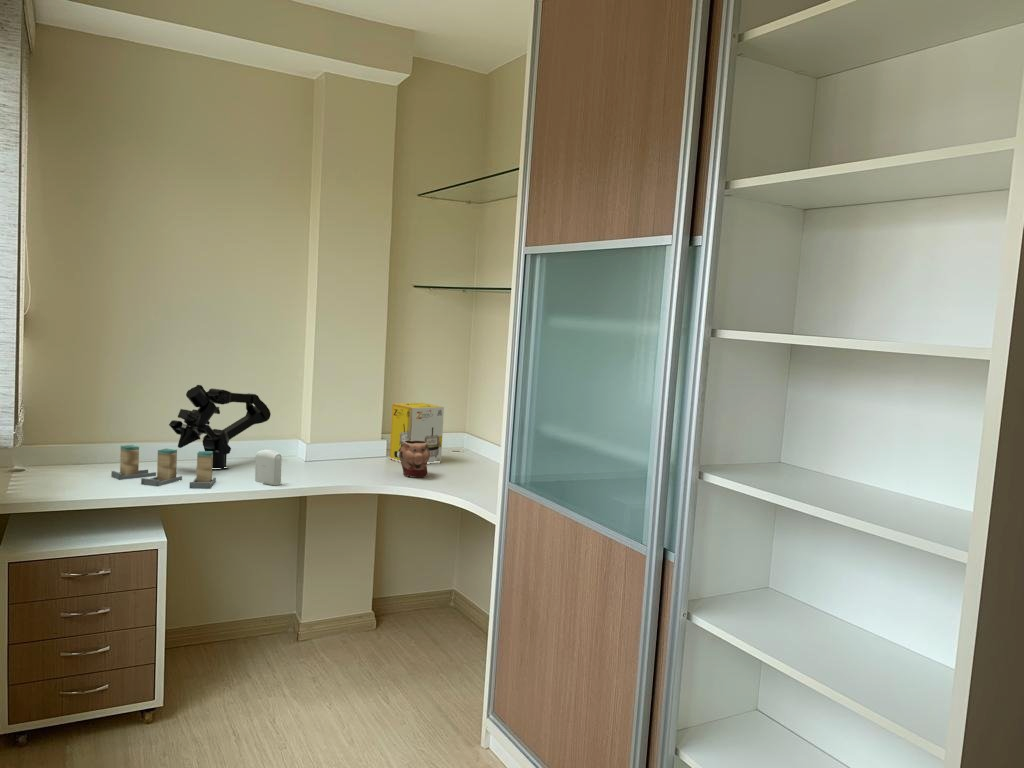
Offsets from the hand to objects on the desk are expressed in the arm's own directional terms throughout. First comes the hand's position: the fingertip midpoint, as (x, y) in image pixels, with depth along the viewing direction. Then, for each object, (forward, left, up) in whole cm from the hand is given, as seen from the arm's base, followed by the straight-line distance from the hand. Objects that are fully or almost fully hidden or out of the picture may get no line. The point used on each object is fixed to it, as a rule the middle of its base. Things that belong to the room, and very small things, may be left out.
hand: (178, 447), depth 302 cm
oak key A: (+15, -6, -10) cm, 19 cm away
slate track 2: (+12, +8, -11) cm, 18 cm away
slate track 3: (+4, +21, -11) cm, 24 cm away
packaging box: (-94, +34, -11) cm, 100 cm away
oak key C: (+2, +19, -10) cm, 21 cm away
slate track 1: (+14, -6, -11) cm, 18 cm away
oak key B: (+10, +7, -10) cm, 16 cm away
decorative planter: (-70, +54, -11) cm, 89 cm away
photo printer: (-16, +31, -11) cm, 37 cm away
